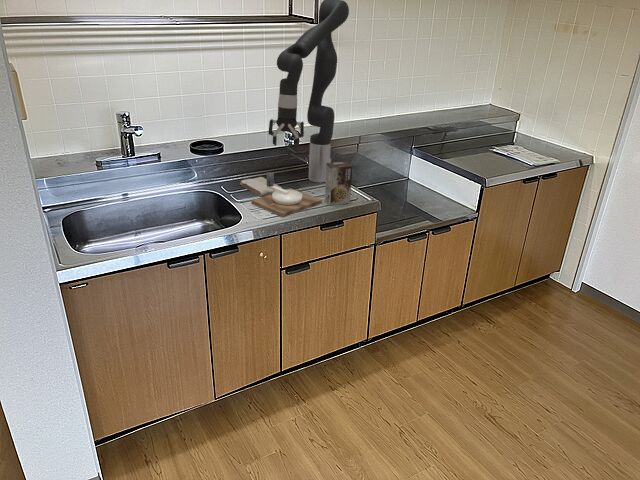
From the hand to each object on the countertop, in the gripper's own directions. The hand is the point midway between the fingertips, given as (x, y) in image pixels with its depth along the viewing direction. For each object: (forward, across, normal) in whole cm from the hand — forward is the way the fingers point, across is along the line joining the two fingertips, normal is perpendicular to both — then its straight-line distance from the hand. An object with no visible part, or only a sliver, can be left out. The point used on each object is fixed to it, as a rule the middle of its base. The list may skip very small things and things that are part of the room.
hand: (285, 146), depth 215 cm
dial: (+18, -1, +12) cm, 22 cm away
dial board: (+20, -3, +14) cm, 25 cm away
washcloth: (+20, +10, -2) cm, 23 cm away
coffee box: (+20, -23, +8) cm, 31 cm away
